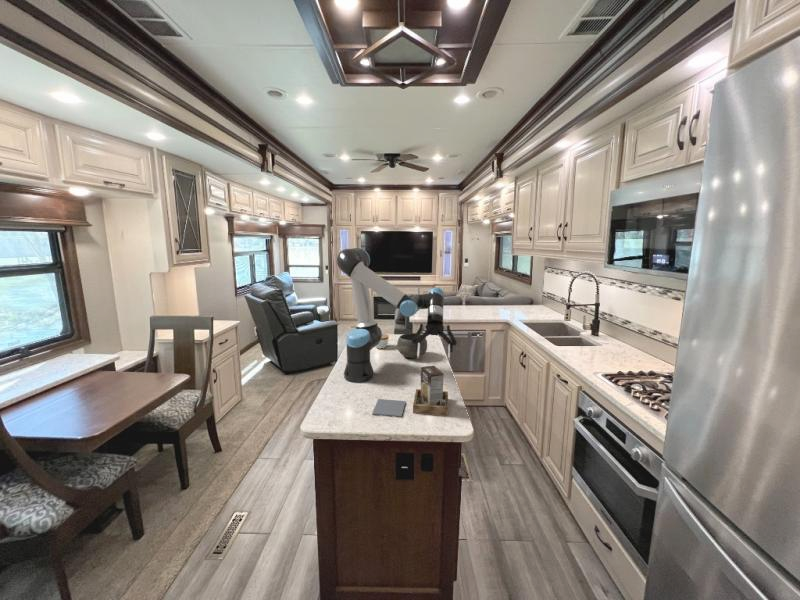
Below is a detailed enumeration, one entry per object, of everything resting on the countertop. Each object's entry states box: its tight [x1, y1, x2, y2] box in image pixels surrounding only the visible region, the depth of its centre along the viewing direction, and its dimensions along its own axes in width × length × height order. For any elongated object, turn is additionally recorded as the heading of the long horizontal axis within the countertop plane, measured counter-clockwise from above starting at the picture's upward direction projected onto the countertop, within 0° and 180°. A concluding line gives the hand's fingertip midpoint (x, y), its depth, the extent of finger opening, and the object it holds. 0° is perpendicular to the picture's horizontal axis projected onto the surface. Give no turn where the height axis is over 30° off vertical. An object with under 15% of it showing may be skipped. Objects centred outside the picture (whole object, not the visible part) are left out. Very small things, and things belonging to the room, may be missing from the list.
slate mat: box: [371, 398, 406, 418], centre depth 135 cm, size 12×12×1 cm
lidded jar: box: [374, 333, 389, 350], centre depth 208 cm, size 11×11×9 cm
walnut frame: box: [412, 388, 449, 417], centre depth 137 cm, size 14×14×4 cm
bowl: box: [396, 332, 428, 359], centre depth 192 cm, size 18×18×13 cm
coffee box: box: [419, 365, 444, 406], centre depth 136 cm, size 9×6×16 cm
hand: (433, 358), depth 143 cm, fingers open, 13 cm apart
